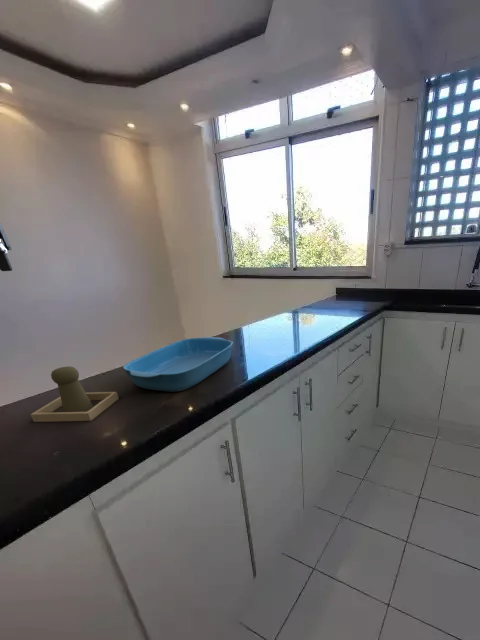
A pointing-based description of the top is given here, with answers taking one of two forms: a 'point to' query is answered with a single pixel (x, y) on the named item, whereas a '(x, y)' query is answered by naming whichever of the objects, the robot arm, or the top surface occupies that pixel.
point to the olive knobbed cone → (71, 390)
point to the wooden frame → (48, 415)
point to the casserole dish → (179, 364)
